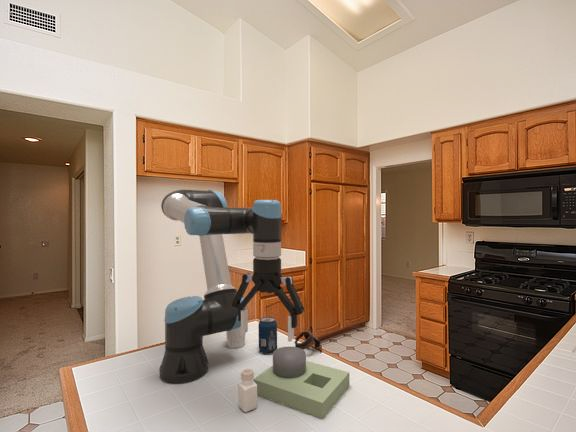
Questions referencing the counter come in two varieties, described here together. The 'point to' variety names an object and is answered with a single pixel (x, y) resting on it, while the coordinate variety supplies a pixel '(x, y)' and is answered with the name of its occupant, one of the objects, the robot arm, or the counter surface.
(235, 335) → the white cup
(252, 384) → the pepper shaker
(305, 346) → the dark brown open frame
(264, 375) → the green knob base
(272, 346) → the soda can
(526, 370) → the counter surface
